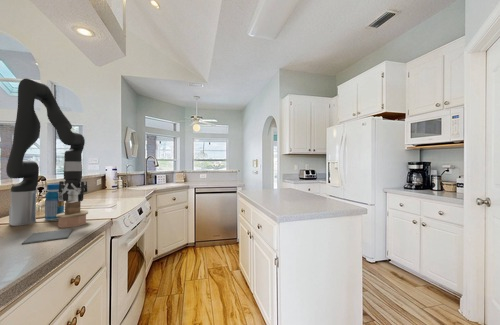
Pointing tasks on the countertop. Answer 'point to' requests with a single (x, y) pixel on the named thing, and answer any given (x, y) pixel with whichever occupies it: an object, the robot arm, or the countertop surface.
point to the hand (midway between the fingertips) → (73, 201)
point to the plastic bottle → (72, 196)
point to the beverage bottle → (53, 202)
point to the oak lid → (72, 210)
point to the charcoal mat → (48, 236)
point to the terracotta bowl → (72, 221)
